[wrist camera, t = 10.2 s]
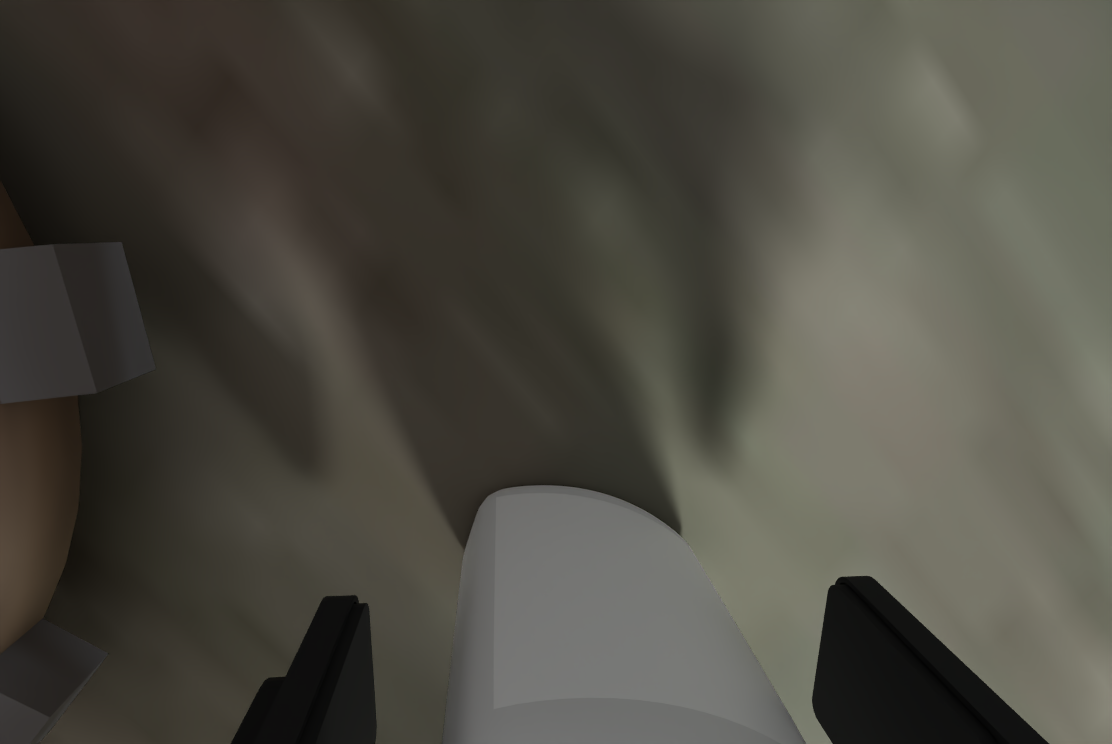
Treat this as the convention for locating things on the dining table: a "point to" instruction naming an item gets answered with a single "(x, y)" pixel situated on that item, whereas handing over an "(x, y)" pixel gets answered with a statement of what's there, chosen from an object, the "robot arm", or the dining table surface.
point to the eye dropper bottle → (597, 633)
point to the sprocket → (50, 449)
